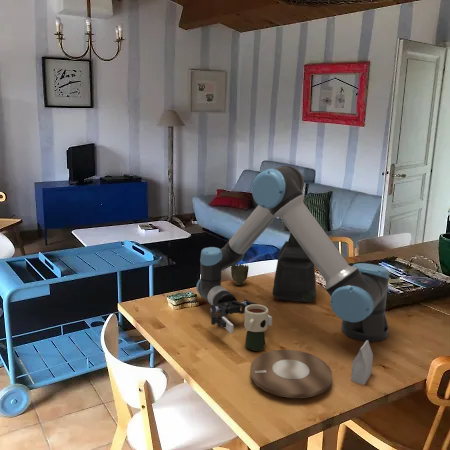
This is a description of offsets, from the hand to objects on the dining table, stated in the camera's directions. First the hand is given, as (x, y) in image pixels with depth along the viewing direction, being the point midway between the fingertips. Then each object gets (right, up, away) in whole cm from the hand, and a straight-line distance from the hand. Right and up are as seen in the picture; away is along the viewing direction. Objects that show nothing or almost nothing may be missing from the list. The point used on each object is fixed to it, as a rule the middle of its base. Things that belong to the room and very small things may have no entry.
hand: (251, 325), depth 151 cm
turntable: (+10, -10, -17) cm, 22 cm away
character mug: (+1, -7, 0) cm, 7 cm away
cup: (-2, +6, +52) cm, 53 cm away
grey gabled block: (+30, -12, -15) cm, 35 cm away
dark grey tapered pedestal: (+19, +3, +42) cm, 47 cm away
